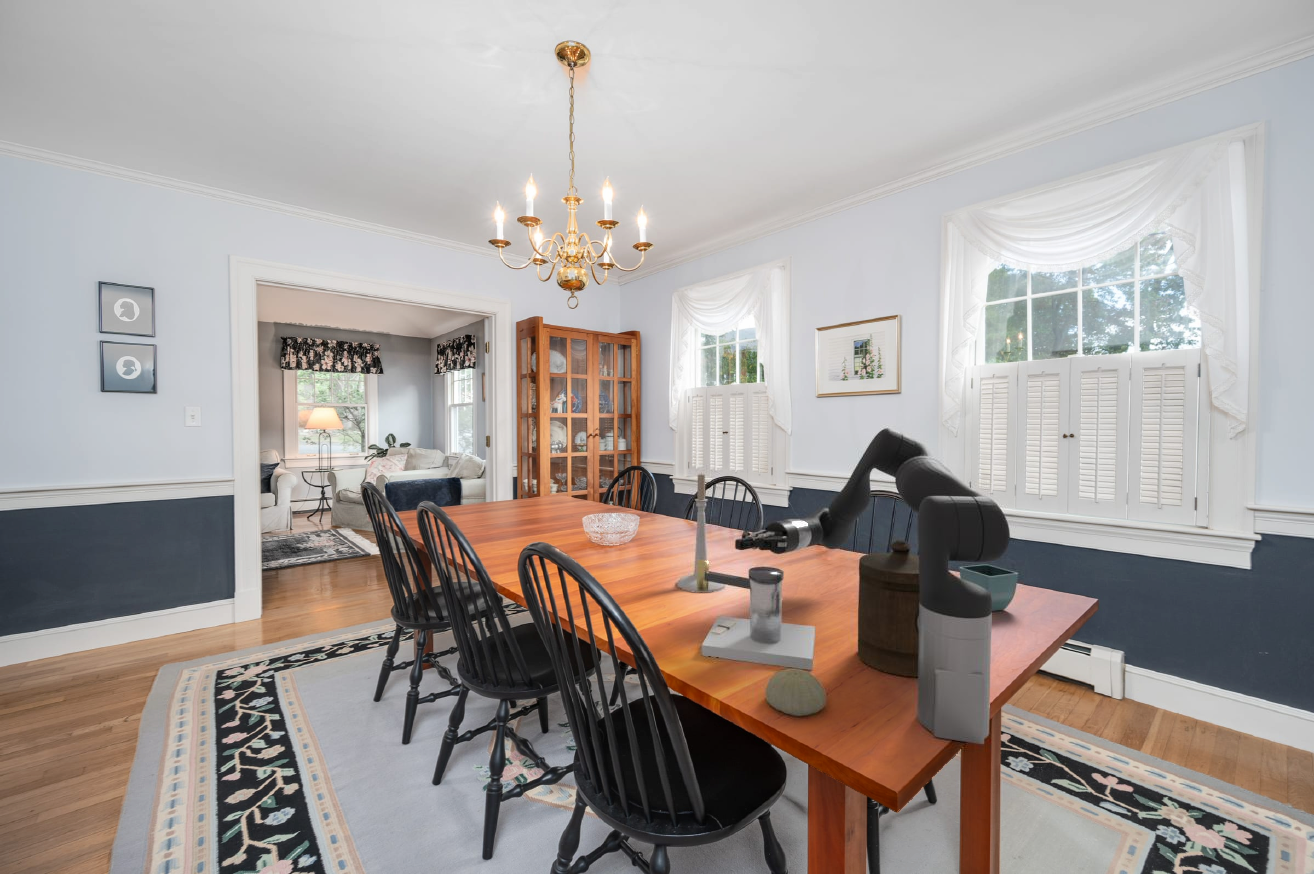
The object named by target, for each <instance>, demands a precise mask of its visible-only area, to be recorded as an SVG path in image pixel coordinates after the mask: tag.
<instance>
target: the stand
mask: <svg viewBox="0 0 1314 874" xmlns="http://www.w3.org/2000/svg"><path fill="white" fill-rule="evenodd" d="M815 641H816V626H814V625H813V626H812V625H803V624H802V625H801V624H795V623H784V622H782V626H781V639H780V640H779V641H776V642H761V641H757V640H754V639H752V638H751V637H750V618H749V619H748V618H741V617H740V618H738V617H730V616H720V615H718V616H717V617H716V619H715V621H714V623H713V625H712V627H711V628H710V630H709V632H708V633H707V635H706V636H705V638H704V640H703V642H702V644H701V656H702V655H703V656H702V657H708V656H711V657H710V658H716V657H719V658H718V659H725V660H732V661H733V660H734V661H740V662H748V663H755V664H760V665H761V664H764V665H770V666H778V667H786V668H791V669H799V670H806V671H813V668H814V667H813V666H814V656H815V654H814V653H815Z"/></svg>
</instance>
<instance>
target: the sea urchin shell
mask: <svg viewBox="0 0 1314 874" xmlns="http://www.w3.org/2000/svg"><path fill="white" fill-rule="evenodd" d="M765 687H766V688H765V699H766V700H767V703H768V704H769V705H770V706H771V707H773V708H774V709H776V710H777V711H780V712H782V713H785V714H786V715H787V714H788V715H791V716H794V717H799V718H800V717H803V716H810V715H815V714H817V713H818V712H820V711H822V710H823V709H824V708H825V706H826V704H827V695H826V691H825V687H824V686H823V685H822V683H821V682H820V681H819V679H817V677H816V676H814V675H813V674H812V673H810V671H808V670H806V669H800V668H788V669H783V670H780V671H778V672H777V673H775V674H773V676H771V678H769V681H768V682H767V684H766V686H765Z"/></svg>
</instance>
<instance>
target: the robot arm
mask: <svg viewBox="0 0 1314 874" xmlns="http://www.w3.org/2000/svg"><path fill="white" fill-rule="evenodd" d="M874 469H876V470H877V471H880V472H882V473H884V474H885V475H888V476H891V477H893V478H895V479H894V480H895V481H894V482H895V487H896V489H897V492H898V494H899V496H900V497H901V499H902V500H903V502H904V503H905V504H906V505H907V506H908V508H910V509H911V510H912V511H913V512H916V513H917V544H918V555H919V591H920V597H919V648H918V677H917V719H918V722H919V723H920V724H921V725H922V726H923V727H924V728H925V729H927V730H929V732H931V733H932V734H933V736H934V737H935V738H940V739H946V740H952V741H959V742H965V743H966V742H967V743H971V744H972V743H973V744H979V745H984V744H985V739H987V738H988V737H989V735H990V710H991V709H990V707H991V705H990V702H991V701H990V700H991V699H990V698H991V654H992V620H993V619H992V615H993V613H992V612H993V611H992V598H991V595H990V593H989V592H988V591H987V590H986V589H984V588H983V587H981V586H979V585H977V584H974V583H972V582H969V581H966V580H963V579H961V578H960V577H958V576H957V575H955V574H953V573H952V572H950V571H949V563H948V562H949V561H950V562H969V563H988V562H993V561H996V560H999V559H1000V558H1001V557H1002V556H1004V555H1005V553H1006V552H1007V550H1008V549H1009V545H1010V539H1011V534H1010V531H1011V530H1010V527H1009V522H1008V520H1007V518H1006V515H1005V513H1004V512H1003V510H1002V509H1001V508H1000V506H999V505H998V504H997V503H996V502H995V501H994V500H993V499H992V498H990V497H988V496H986V495H984V494H983V493H981V492H979V491H978V490H976V489H973V488H972V487H970V486H968V485H967V484H966V483H965V482H963V481H962V480H961V479H959V478H958V477H957V476H956V475H954V474H953V472H951V470H949V469H948V467H946V466H945V464H943V463H942V462H941V461H939V460H937V459H936V458H935V457H933V456H932V454H931V452H930V450H929V449H928V447H927V446H926V445H925V444H924V443H923V442H921V441H919V440H918V439H915V438H914V437H912V436H909V435H906V434H904V433H902V432H900V431H897V430H895V429H892V428H886V427H885V428H883V429H882V430H881V429H880V430H879V432H878V433H876V434H875V436H874V437H873V438H872V440H871V442H870V443H869V444H868V446H867V448H866V450H865V451H864V452H863V454H862V456H861V458H860V459H859V461H858V463H857V465H856V467H855V468H854V470H853V471H852V473H851V475H850V476H849V479H848V480H847V482H846V483H845V485H844V486H843V488H842V489H841V490H840V492H839V493H838V494H836V496H835V497H834V499H833V500H832V501H831V502H830V504H829V505H828V507H821V508H819V509H817V510H816V511H814V512H813V513H812V514H811V515H808V516H806V517H804V518H803V517H801V518H788V519H784V520H777V521H772V522H770V523H768V524H767V525H766V526H765V528H764V529H760V530H759V531H755V532H750V531H748V530H744V531H743V532H742V533H741V538H737V539H735V541H734V546H735V547H734V549H735V550H738V551H745V550H749V549H750V550H751V549H752V550H760V551H770V552H771V553H773V554H775V555H780V554H787V553H792V552H794V551H795V552H796V551H799V550H802V549H805V548H810V547H813V546H816V545H818V544H820V543H821V544H822V545H823V547H825V549H827V550H838V549H839V548H841V547H842V546H843V545H845V544H846V542H847V541H848V539H849V538H850V535H851V533H852V530H853V528H854V527H853V526H854V524H855V522H856V521H857V519H858V518H860V516H861V515H862V514H863V513H864V512H865V511H866V510H867V508H868V507H869V505H870V502H871V497H872V493H871V492H872V491H871V490H872V489H871V482H870V481H871V478H870V477H871V473H872V471H873V470H874Z"/></svg>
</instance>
